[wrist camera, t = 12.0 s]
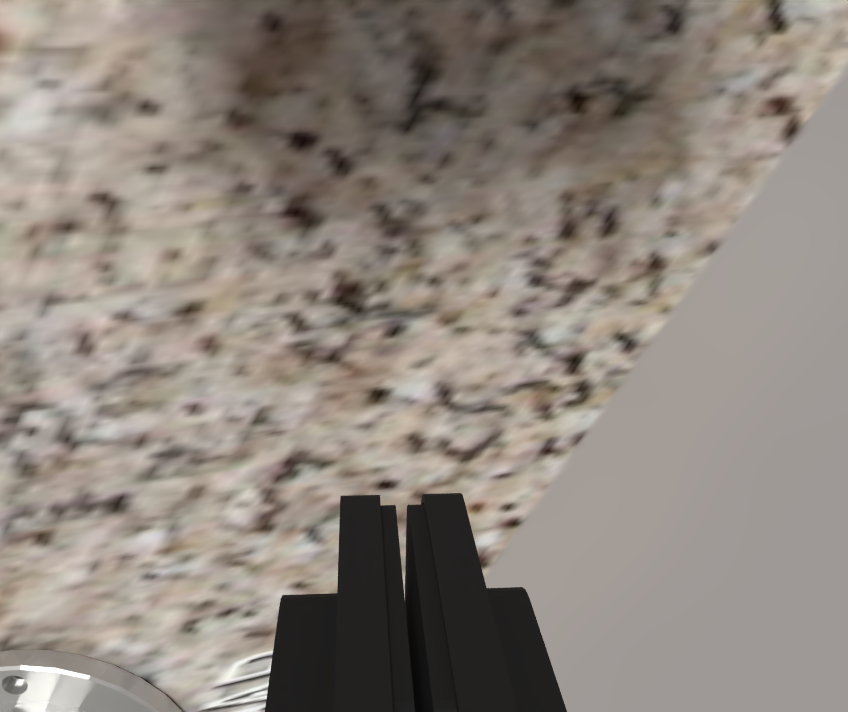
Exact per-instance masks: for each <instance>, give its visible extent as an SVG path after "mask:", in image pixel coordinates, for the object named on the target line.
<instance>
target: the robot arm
mask: <svg viewBox="0 0 848 712" xmlns="http://www.w3.org/2000/svg"><path fill="white" fill-rule="evenodd" d="M0 712H182V711H181V710H180V709H179V708H178V707H177V706H176V705H175V704H174V703H173V702H172V701H171V700H170V699H169V698H168V697H167V696H166V695H165V694H164V693H162V692H161V691H159V690H158V689H156V688H155V687H153V686H152V685H151V684H149V683H148V682H146V681H145V680H143V679H142V678H140V677H138V676H136V675H134V674H131V673H129V672H127V671H125V670H123V669H121V668H119V667H117V666H115V665H112V664H109V663H106V662H102V661H99V660H96V659H92V658H89V657H86V656H82V655H77V654H70V653H64V652H57V651H50V650H8V651H1V652H0ZM265 712H567V711H566V708H565V704H564V701H563V699H562V695H561V692H560V689H559V686H558V683H557V680H556V677H555V674H554V672H553V668H552V665H551V662H550V659H549V656H548V653H547V650H546V647H545V644H544V641H543V638H542V635H541V633H540V629H539V626H538V623H537V620H536V617H535V614H534V611H533V608H532V605H531V602H530V599H529V596H528V594H527V592H526V590H525V589H524V588H522V587H519V588H518V587H515V588H486V585H485V581H484V577H483V573H482V569H481V565H480V561H479V557H478V553H477V549H476V545H475V541H474V538H473V534H472V530H471V526H470V522H469V518H468V514H467V510H466V506H465V502H464V498H463V495H462V494H461V493H451V494H423V495H422V501H421V505H408V506H407V528H406V575H405V600H404V589H403V579H402V568H401V557H400V547H399V536H398V526H397V515H396V506H395V505H384V506H380V495H361V496H341V500H340V531H339V562H338V593H336V594H306V595H283V596H282V598H281V602H280V607H279V614H278V622H277V629H276V636H275V643H274V650H273V658H272V665H271V672H270V679H269V686H268V694H267V701H266V708H265Z"/></svg>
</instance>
